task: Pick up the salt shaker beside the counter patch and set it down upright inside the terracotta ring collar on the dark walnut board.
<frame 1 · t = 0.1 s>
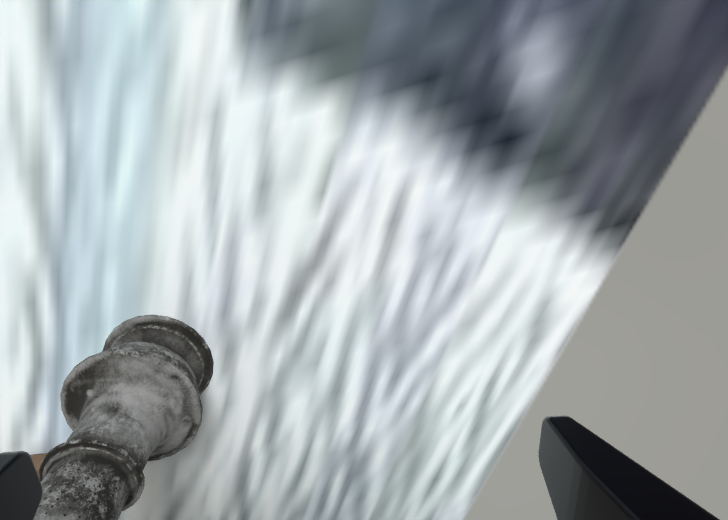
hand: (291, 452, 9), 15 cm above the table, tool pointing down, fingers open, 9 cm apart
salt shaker: (160, 359, 25), on the table
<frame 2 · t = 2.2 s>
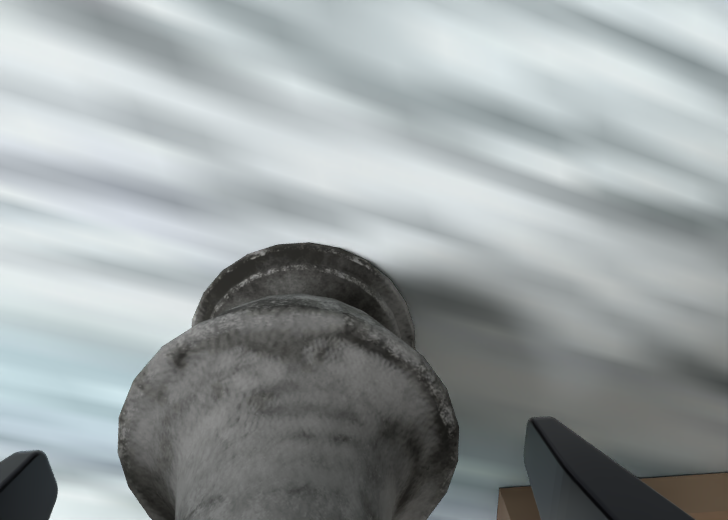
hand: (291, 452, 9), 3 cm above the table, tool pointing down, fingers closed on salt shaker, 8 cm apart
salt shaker: (305, 341, 12), on the table, touching gripper
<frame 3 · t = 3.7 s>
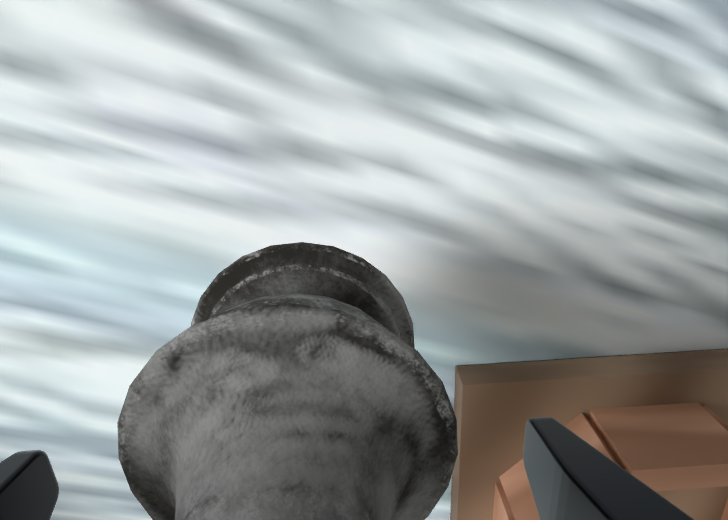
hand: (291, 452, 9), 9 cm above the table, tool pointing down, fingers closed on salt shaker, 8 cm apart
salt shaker: (304, 341, 12), point 6 cm above the table, touching gripper
collar board: (607, 488, 22), on the table
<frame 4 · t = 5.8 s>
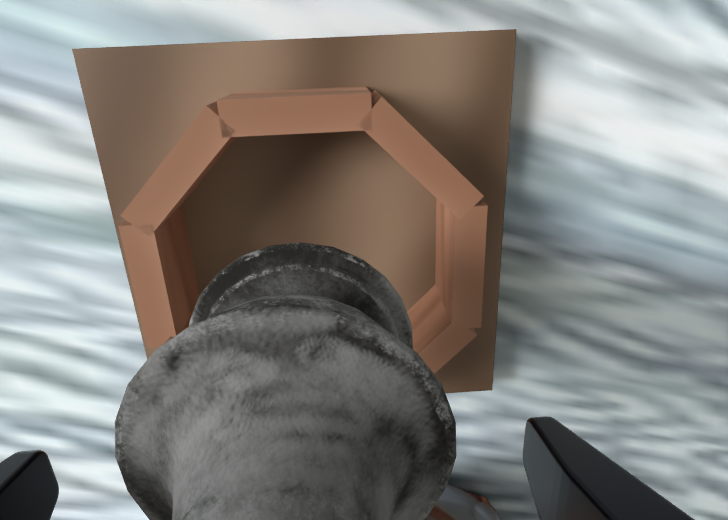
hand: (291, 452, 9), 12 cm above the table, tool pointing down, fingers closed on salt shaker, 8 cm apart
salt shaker: (302, 341, 12), point 8 cm above the table, touching gripper
collar board: (315, 235, 20), on the table
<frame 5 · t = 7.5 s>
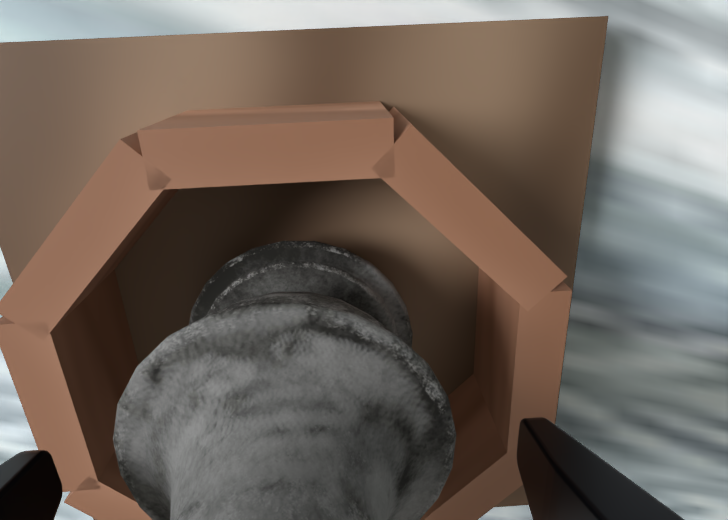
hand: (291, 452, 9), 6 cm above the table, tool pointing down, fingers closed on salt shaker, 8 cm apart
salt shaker: (302, 339, 12), point 2 cm above the table, touching gripper
collar board: (308, 303, 14), on the table
when the fingers open (6 cm above the table, at t = 8.8 s): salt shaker drops 1 cm, resting on collar board.
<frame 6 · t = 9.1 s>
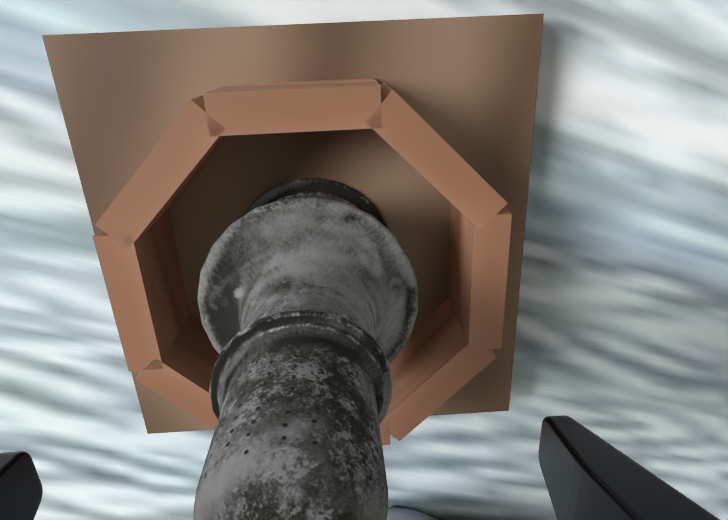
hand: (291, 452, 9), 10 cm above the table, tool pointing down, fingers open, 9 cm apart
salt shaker: (314, 253, 17), point 1 cm above the table, touching collar board
collar board: (317, 242, 18), on the table
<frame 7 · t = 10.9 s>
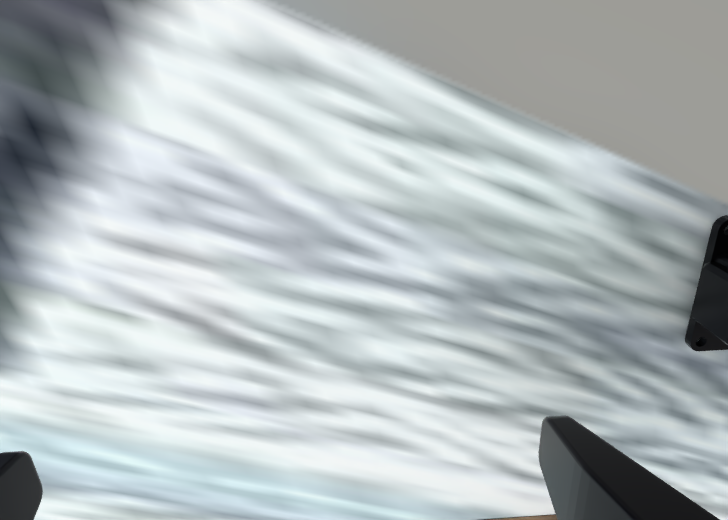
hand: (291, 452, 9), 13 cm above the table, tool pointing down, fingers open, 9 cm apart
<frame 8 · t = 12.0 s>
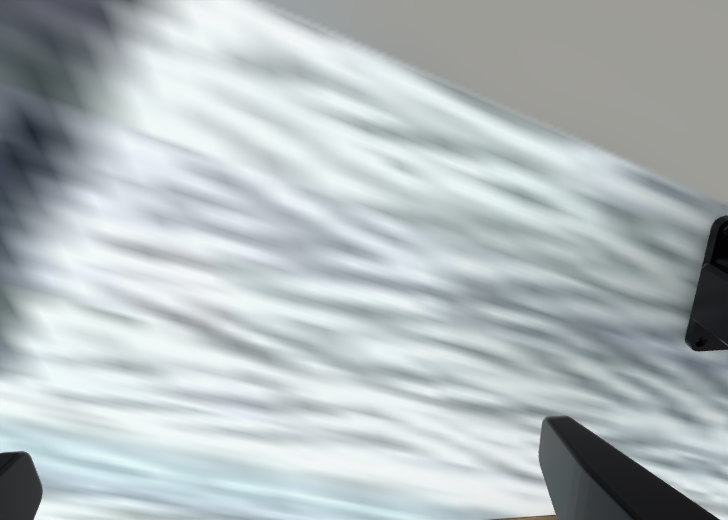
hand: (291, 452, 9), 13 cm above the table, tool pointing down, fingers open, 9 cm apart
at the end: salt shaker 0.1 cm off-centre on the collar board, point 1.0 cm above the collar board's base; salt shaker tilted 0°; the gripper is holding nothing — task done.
